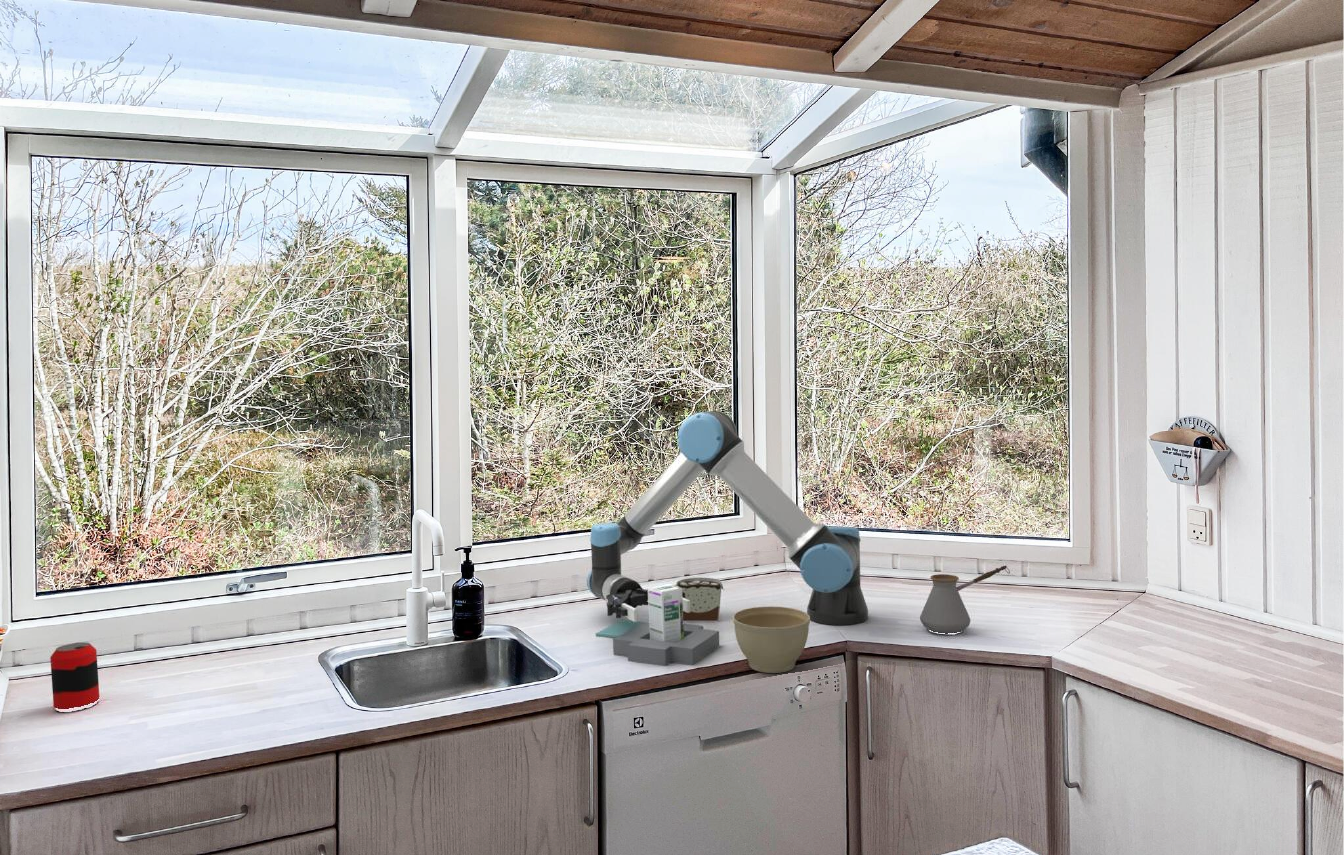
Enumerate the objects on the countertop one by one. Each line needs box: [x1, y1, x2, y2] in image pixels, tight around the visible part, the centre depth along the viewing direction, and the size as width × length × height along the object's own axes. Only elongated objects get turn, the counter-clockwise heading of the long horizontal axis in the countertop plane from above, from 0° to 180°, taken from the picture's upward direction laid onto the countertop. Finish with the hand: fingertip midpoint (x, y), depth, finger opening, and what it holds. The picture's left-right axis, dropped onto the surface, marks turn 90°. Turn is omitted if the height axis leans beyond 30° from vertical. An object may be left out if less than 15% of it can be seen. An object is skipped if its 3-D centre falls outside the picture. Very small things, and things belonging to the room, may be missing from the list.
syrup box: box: [647, 583, 684, 643], centre depth 201 cm, size 6×6×14 cm
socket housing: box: [612, 622, 720, 666], centre depth 201 cm, size 20×20×4 cm
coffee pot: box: [919, 565, 1011, 634], centre depth 210 cm, size 21×12×15 cm, turn 93°
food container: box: [675, 577, 725, 623], centre depth 227 cm, size 12×6×10 cm, turn 84°
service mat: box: [595, 619, 649, 639], centre depth 217 cm, size 13×13×1 cm
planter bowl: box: [732, 605, 811, 674], centre depth 188 cm, size 16×16×11 cm
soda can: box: [49, 641, 100, 709], centre depth 176 cm, size 8×8×12 cm
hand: (662, 611), depth 202 cm, fingers open, 13 cm apart
